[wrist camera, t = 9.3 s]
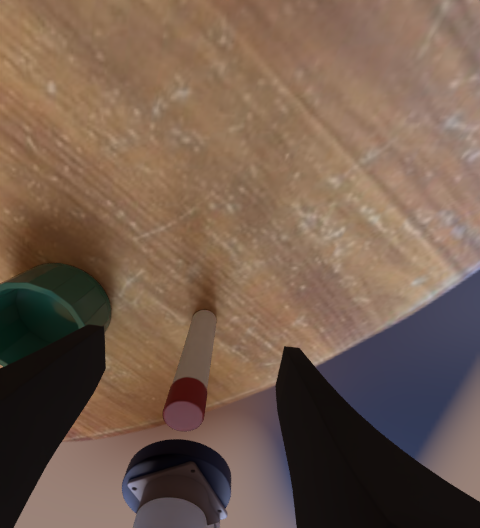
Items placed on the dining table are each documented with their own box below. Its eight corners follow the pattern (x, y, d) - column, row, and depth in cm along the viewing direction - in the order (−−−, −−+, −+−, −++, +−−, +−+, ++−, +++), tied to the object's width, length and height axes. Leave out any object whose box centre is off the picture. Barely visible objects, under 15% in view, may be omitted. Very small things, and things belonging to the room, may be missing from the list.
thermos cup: (128, 328, 21) (107, 358, 18) (52, 357, 22) (18, 391, 18) (78, 248, 19) (43, 265, 15) (-4, 283, 20) (-53, 306, 16)
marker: (221, 326, 21) (210, 425, 13) (198, 334, 21) (173, 437, 13) (211, 305, 20) (192, 395, 12) (187, 313, 20) (154, 407, 12)
